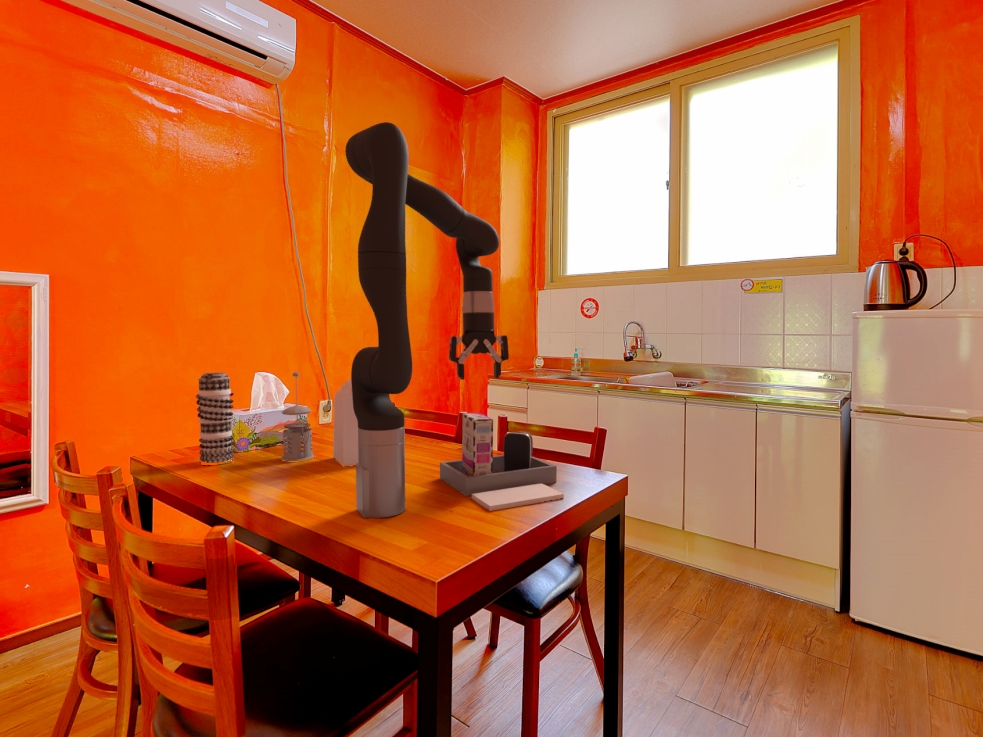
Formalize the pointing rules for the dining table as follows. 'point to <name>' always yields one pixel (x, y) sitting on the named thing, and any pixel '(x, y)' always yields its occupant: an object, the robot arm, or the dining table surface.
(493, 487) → the bin
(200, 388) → the decorative candle
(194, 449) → the dining table surface
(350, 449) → the milk
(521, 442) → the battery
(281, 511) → the dining table surface
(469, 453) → the candy bar box
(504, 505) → the board
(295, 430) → the french press
